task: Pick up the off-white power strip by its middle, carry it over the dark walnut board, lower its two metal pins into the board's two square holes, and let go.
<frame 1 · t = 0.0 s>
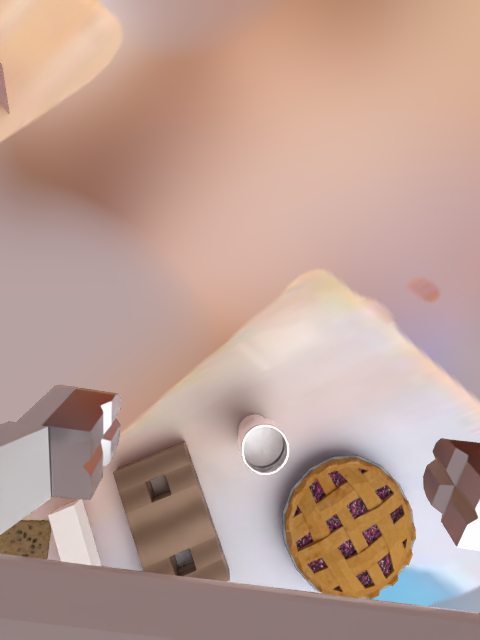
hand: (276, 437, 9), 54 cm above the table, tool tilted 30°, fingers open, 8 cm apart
pie: (342, 517, 60), on the table
greeting card: (1, 93, 70), on the table
beer glass: (254, 431, 61), on the table
power strip: (92, 552, 57), on the table
socket board: (173, 517, 58), on the table
seeded crispbread: (12, 557, 57), on the table
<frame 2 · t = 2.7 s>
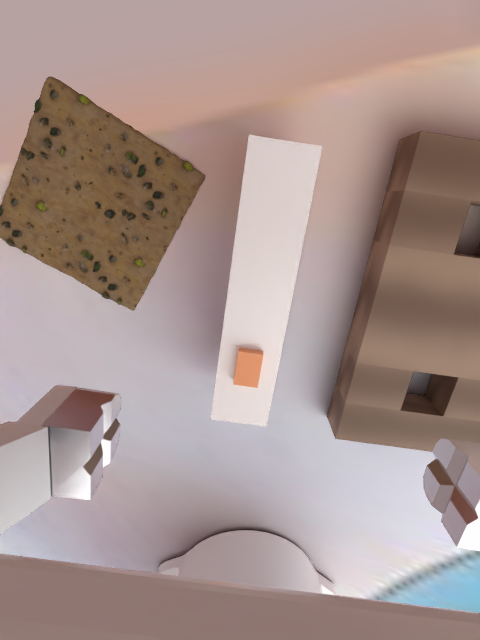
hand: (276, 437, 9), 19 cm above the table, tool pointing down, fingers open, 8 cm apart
power strip: (256, 281, 27), on the table
socket board: (434, 307, 27), on the table
seeded crispbread: (99, 205, 26), on the table
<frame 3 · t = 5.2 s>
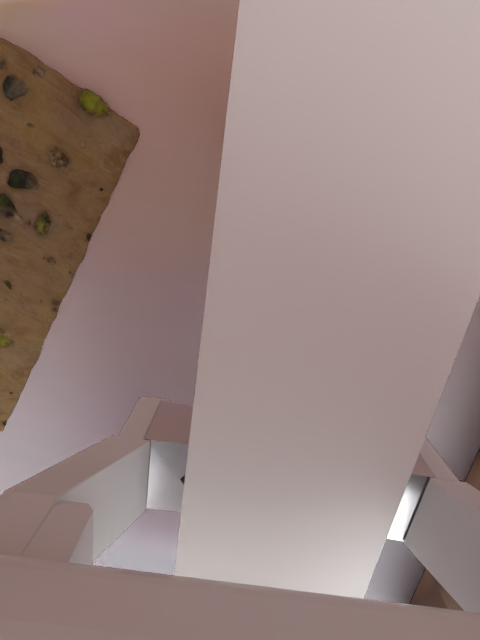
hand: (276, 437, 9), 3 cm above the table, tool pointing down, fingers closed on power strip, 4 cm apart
power strip: (269, 377, 12), on the table, touching gripper
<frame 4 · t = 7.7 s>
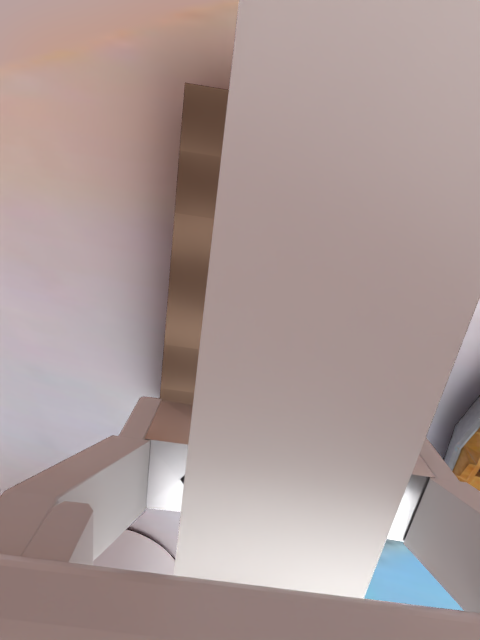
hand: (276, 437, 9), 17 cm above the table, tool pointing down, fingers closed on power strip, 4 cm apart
power strip: (270, 375, 12), point 14 cm above the table, touching gripper
socket board: (260, 285, 25), on the table
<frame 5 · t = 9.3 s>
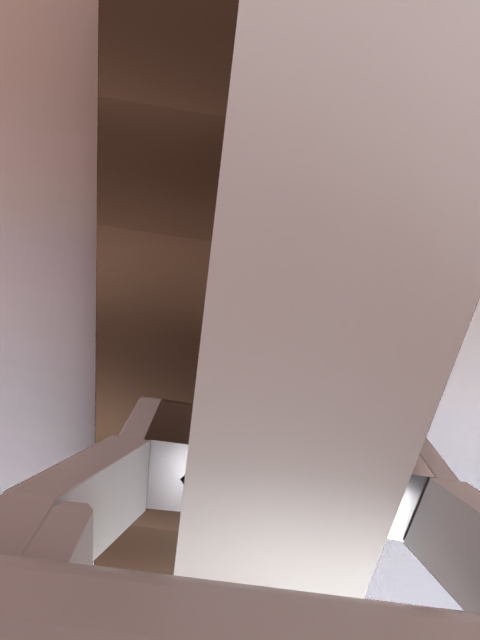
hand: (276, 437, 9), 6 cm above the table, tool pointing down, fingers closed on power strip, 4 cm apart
power strip: (270, 375, 12), point 3 cm above the table, touching gripper
socket board: (264, 343, 15), on the table
when the fingers open (4 cm above the table, at t = 10.4 s): power strip stays where it is, resting on socket board.
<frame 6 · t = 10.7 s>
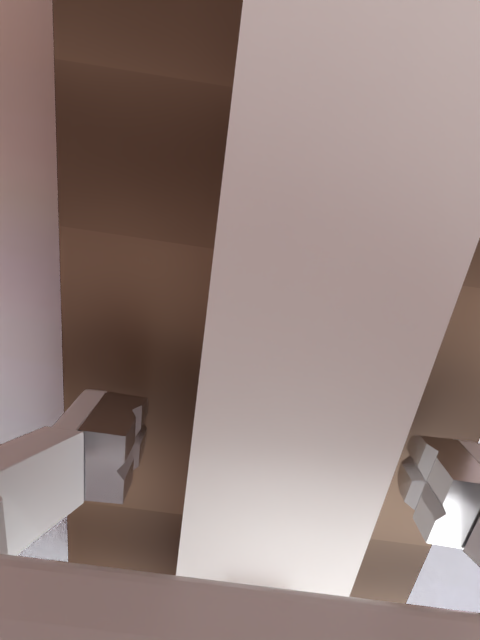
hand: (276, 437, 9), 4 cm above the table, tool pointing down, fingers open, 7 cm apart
power strip: (269, 369, 12), resting on socket board
socket board: (268, 364, 13), on the table
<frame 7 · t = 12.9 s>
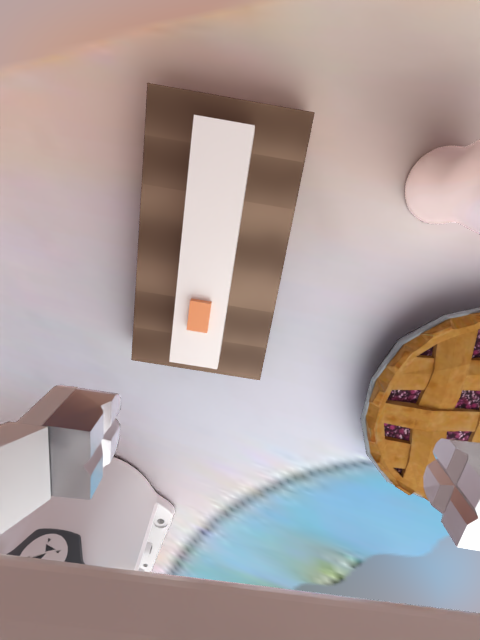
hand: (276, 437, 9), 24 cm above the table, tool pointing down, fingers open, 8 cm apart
pie: (458, 394, 36), on the table
beer glass: (440, 186, 29), on the table
power strip: (214, 247, 31), resting on socket board
socket board: (215, 246, 31), on the table
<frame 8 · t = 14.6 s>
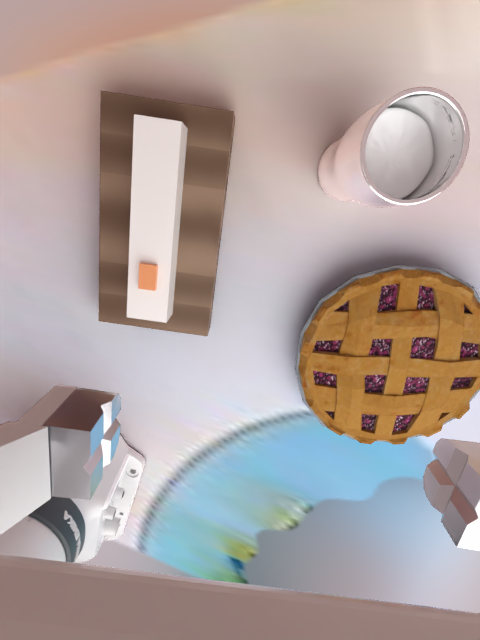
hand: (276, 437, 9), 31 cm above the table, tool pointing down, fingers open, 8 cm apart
pie: (381, 349, 42), on the table
beer glass: (347, 170, 35), on the table
power strip: (165, 224, 37), resting on socket board
socket board: (166, 224, 37), on the table
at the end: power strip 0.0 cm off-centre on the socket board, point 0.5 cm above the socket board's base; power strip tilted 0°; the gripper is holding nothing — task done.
